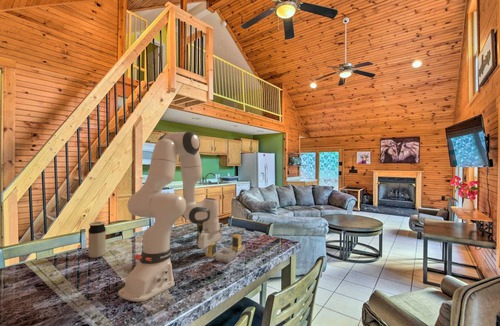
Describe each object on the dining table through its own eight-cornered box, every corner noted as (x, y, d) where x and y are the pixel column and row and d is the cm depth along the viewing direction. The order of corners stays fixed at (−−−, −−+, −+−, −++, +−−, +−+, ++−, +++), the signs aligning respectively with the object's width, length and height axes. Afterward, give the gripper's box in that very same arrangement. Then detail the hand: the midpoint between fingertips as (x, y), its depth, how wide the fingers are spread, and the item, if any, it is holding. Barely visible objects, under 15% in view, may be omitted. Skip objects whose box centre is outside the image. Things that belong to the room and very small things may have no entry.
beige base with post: (228, 263, 127) (228, 245, 126) (215, 260, 129) (215, 243, 129) (245, 249, 147) (245, 234, 147) (233, 247, 150) (234, 232, 150)
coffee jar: (208, 242, 158) (208, 214, 158) (214, 246, 152) (214, 216, 151) (194, 245, 153) (194, 215, 152) (199, 249, 146) (199, 218, 146)
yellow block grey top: (212, 257, 134) (212, 244, 134) (205, 256, 135) (205, 243, 135) (216, 255, 137) (216, 242, 137) (209, 253, 139) (209, 241, 139)
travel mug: (95, 258, 130) (95, 225, 130) (85, 256, 133) (85, 224, 133) (108, 253, 138) (108, 221, 138) (98, 251, 140) (98, 220, 140)
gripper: (205, 232, 126) (205, 259, 126) (224, 223, 144) (224, 246, 144) (195, 230, 128) (195, 257, 128) (215, 222, 147) (214, 245, 147)
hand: (210, 251), depth 136 cm, fingers open, 6 cm apart
